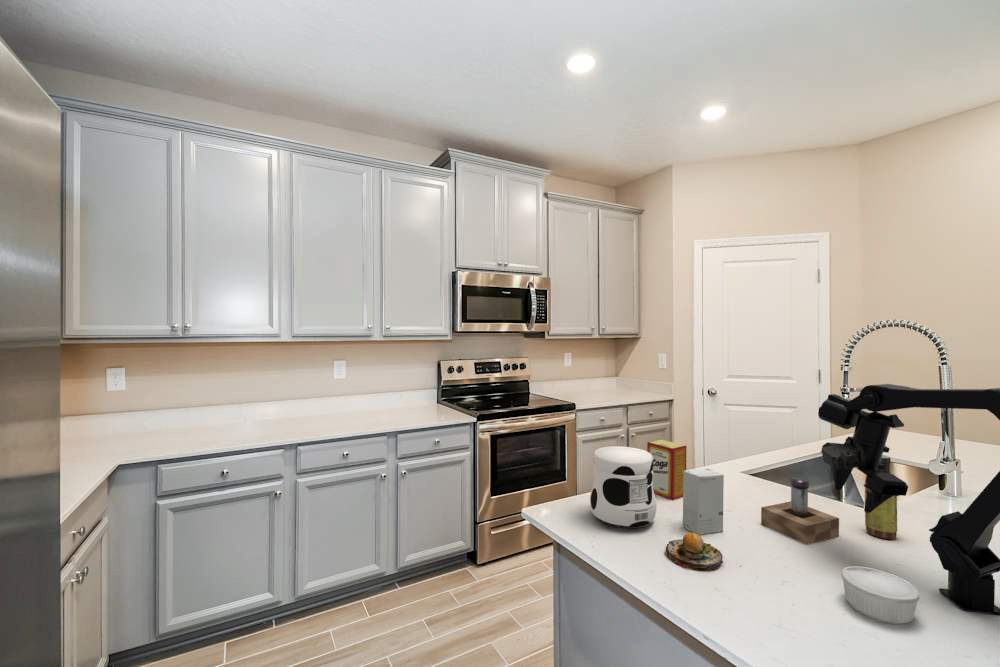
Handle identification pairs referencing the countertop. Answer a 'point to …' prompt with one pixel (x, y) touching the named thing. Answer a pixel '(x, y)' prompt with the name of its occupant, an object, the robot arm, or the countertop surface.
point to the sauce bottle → (883, 512)
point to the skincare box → (703, 501)
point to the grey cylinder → (799, 497)
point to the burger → (694, 553)
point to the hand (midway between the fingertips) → (851, 500)
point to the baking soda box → (668, 468)
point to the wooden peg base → (800, 523)
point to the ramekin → (880, 594)
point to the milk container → (623, 487)
